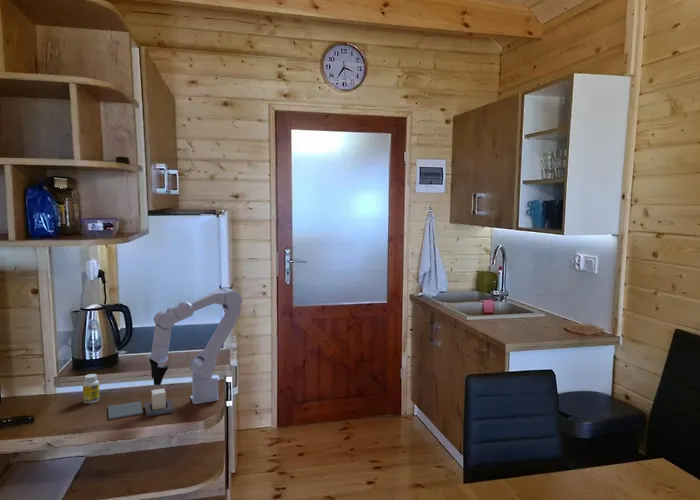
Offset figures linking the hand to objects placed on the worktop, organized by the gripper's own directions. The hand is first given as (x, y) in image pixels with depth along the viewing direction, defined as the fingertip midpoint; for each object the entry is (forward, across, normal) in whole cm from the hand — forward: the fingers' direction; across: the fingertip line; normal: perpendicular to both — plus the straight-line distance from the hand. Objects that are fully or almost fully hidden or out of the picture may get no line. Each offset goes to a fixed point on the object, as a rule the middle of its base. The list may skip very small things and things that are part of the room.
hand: (156, 381), depth 179 cm
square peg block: (+11, 0, +2) cm, 11 cm away
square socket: (+10, 0, +2) cm, 11 cm away
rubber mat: (+12, -4, -8) cm, 15 cm away
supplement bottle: (+14, -19, -19) cm, 30 cm away
